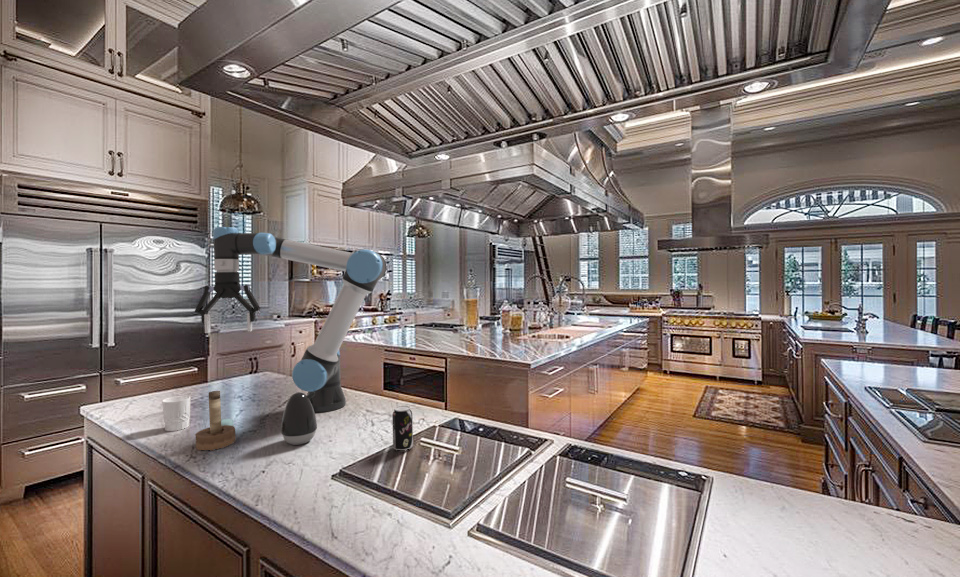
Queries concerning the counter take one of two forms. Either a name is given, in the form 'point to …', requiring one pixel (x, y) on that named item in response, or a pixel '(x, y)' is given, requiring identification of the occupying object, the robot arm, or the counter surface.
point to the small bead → (227, 422)
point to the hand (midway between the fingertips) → (229, 332)
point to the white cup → (176, 412)
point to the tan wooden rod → (215, 412)
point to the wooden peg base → (215, 438)
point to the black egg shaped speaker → (299, 419)
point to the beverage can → (402, 428)
